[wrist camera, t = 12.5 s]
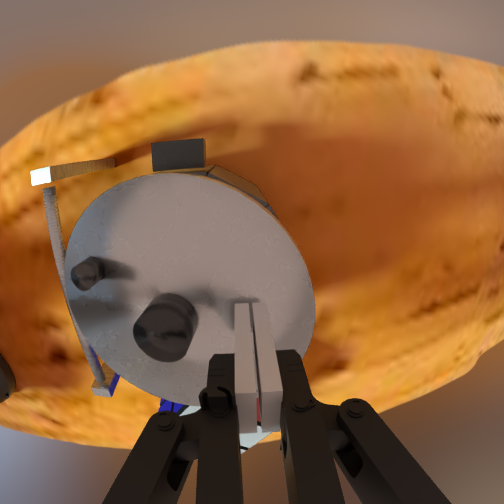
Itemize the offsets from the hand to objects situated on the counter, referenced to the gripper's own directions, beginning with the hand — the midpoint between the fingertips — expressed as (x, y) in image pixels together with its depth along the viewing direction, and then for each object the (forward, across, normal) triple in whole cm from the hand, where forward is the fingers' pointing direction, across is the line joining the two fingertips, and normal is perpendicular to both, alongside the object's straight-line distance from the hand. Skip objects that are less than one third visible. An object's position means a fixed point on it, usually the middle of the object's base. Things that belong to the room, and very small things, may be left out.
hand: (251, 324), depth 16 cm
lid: (+3, -5, 0) cm, 6 cm away
